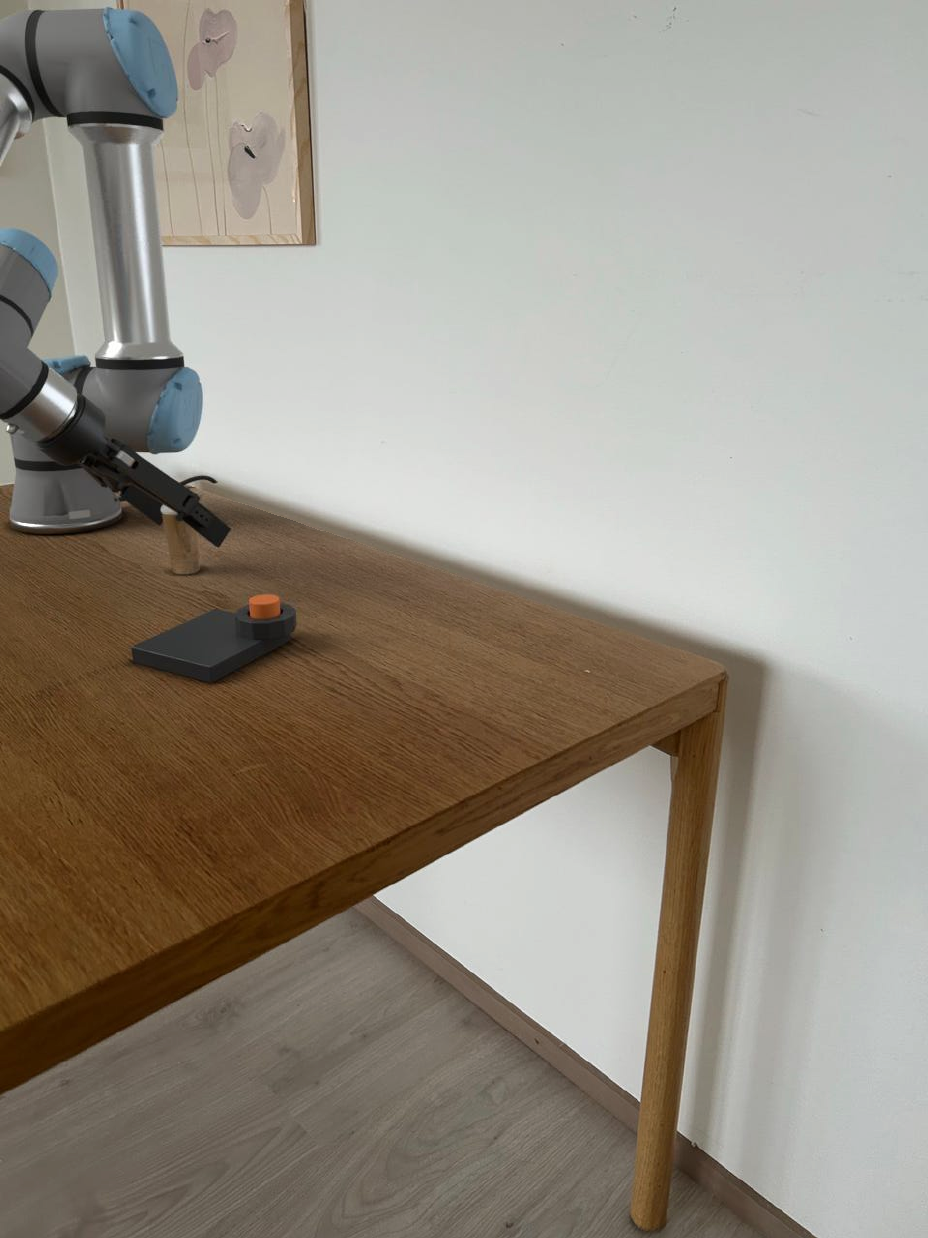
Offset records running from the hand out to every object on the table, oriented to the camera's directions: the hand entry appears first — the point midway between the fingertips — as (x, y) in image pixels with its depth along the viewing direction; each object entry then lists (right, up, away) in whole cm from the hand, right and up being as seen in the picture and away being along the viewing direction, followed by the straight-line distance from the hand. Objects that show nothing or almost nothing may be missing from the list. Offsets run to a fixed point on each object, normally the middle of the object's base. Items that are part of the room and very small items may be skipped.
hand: (193, 526), depth 118 cm
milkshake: (-1, -6, +1) cm, 6 cm away
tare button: (+13, -11, -22) cm, 28 cm away
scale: (+8, -15, -22) cm, 28 cm away
